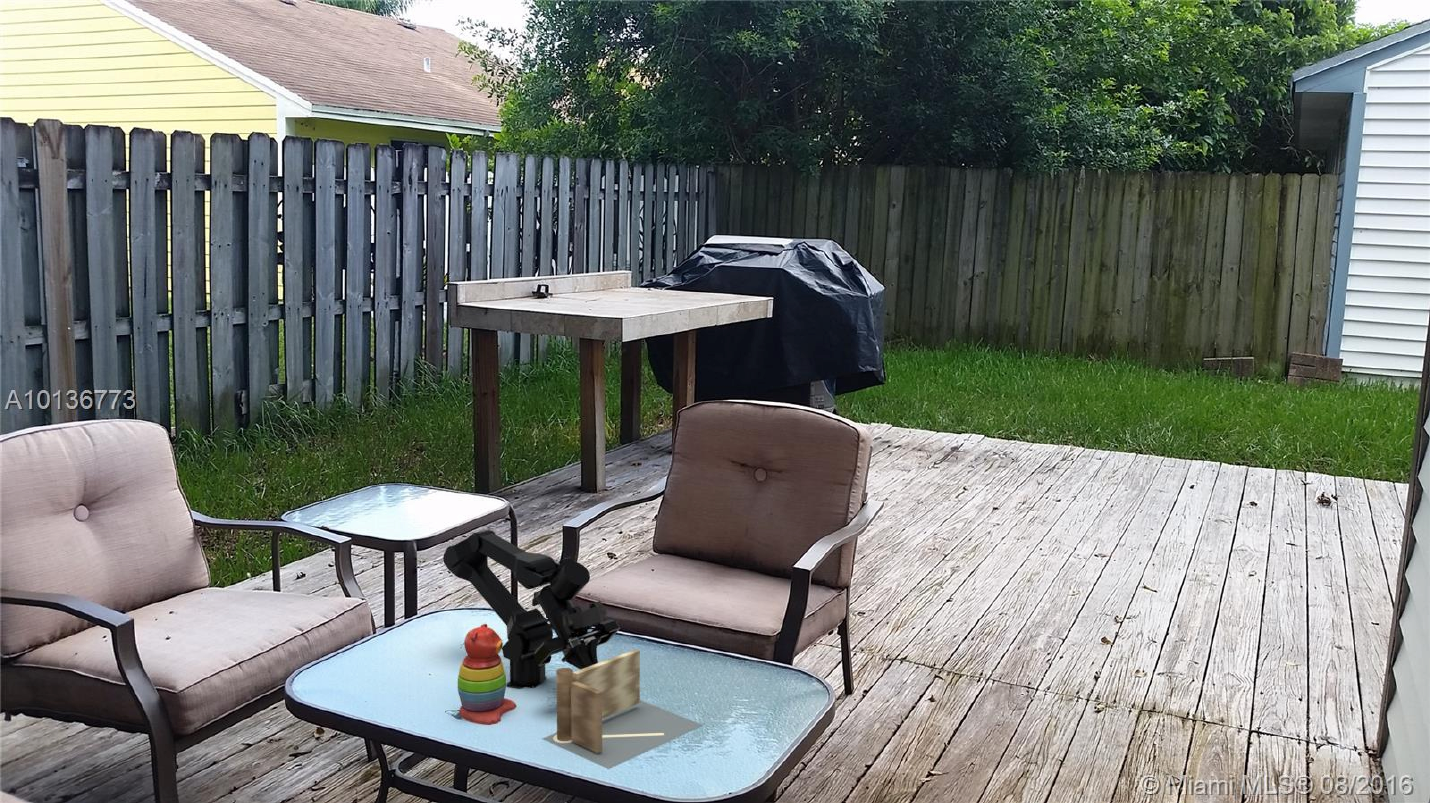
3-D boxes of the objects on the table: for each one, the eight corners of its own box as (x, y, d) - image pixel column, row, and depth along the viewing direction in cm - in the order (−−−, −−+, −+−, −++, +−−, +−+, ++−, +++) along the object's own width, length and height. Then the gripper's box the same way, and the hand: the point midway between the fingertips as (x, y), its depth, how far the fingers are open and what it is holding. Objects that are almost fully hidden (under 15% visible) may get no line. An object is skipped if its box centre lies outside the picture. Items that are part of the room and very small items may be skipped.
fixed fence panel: (553, 738, 218) (553, 670, 216) (565, 733, 220) (565, 666, 218) (593, 756, 211) (593, 686, 209) (605, 750, 213) (605, 682, 211)
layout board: (542, 741, 218) (542, 737, 218) (637, 701, 236) (637, 698, 236) (608, 771, 206) (608, 768, 206) (703, 727, 225) (703, 724, 225)
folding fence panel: (577, 728, 219) (576, 674, 218) (573, 726, 220) (572, 672, 219) (639, 702, 232) (639, 650, 230) (635, 701, 232) (635, 649, 231)
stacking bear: (494, 729, 223) (492, 639, 220) (447, 721, 226) (445, 633, 223) (520, 707, 233) (518, 621, 231) (474, 700, 236) (472, 616, 234)
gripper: (542, 601, 224) (581, 671, 218) (613, 580, 238) (652, 645, 232) (517, 631, 230) (554, 699, 225) (587, 609, 244) (624, 672, 239)
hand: (597, 678), depth 230 cm, fingers closed
